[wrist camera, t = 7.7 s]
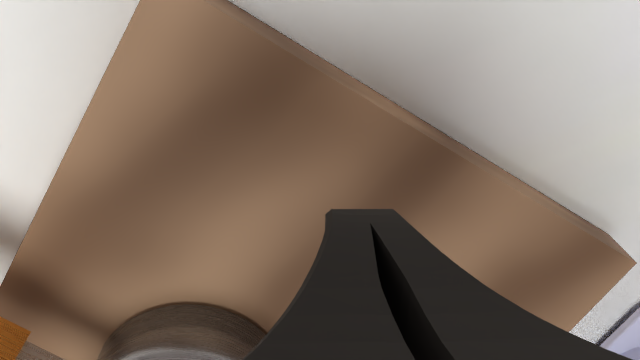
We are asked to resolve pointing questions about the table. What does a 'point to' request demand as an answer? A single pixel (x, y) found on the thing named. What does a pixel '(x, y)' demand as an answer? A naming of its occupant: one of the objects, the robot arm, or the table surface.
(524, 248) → the bench block
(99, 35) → the table surface
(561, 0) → the table surface
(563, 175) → the table surface
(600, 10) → the table surface
